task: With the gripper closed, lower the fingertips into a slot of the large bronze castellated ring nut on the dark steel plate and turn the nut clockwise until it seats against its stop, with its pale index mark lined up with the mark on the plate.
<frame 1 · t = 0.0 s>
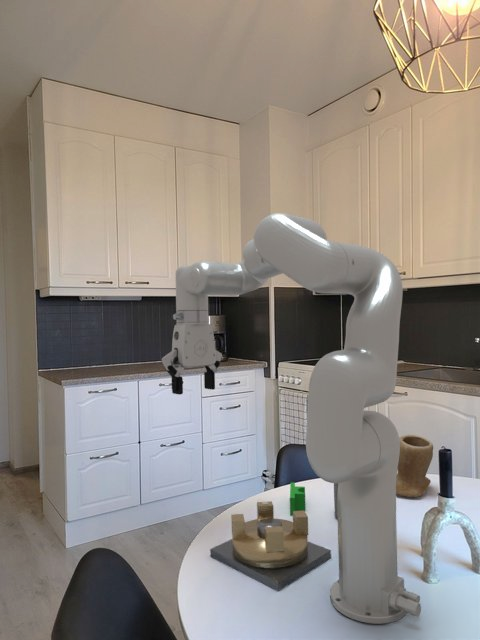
hand: (194, 391, 112), 31 cm above the table, tool pointing down, fingers open, 9 cm apart
mounting plate: (270, 557, 95), on the table
pipe clamp: (297, 508, 120), on the table
ring nut: (269, 531, 95), point 5 cm above the table, hinge at 50.0°
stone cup: (412, 491, 130), on the table
pillar candle: (354, 518, 113), on the table
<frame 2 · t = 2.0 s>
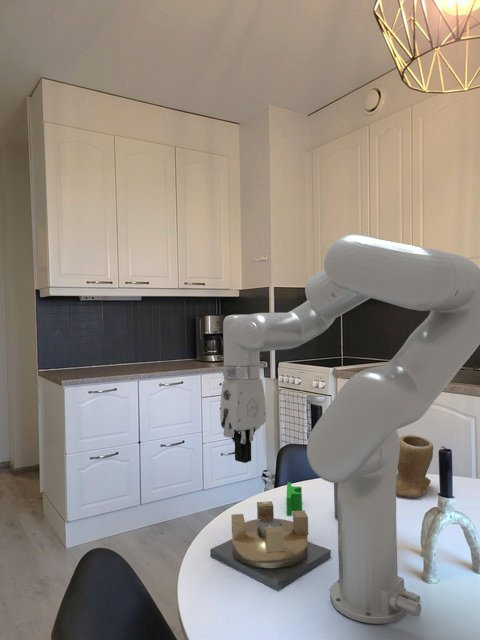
hand: (243, 460, 99), 18 cm above the table, tool pointing down, fingers closed
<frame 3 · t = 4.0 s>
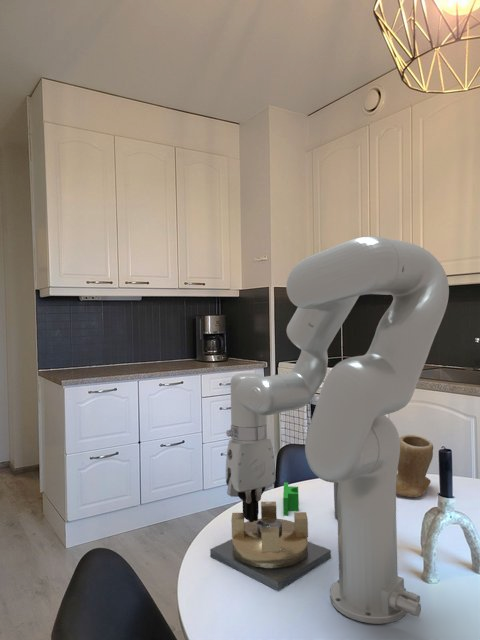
hand: (250, 519, 100), 6 cm above the table, tool pointing down, fingers closed
ring nut: (269, 531, 95), point 5 cm above the table, hinge at 43.1°, touching gripper
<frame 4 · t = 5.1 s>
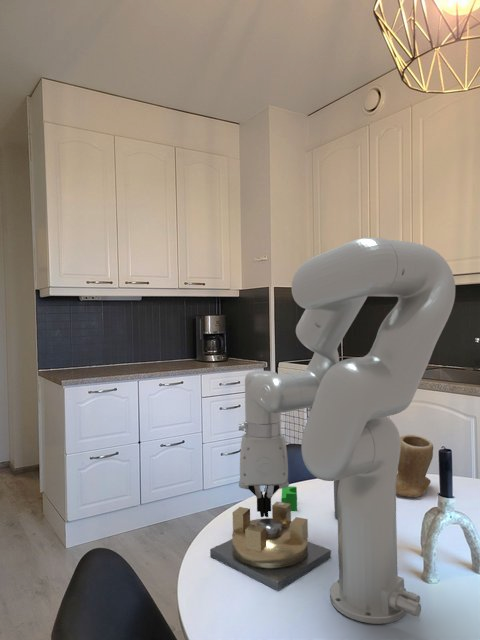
hand: (264, 514, 102), 6 cm above the table, tool pointing down, fingers closed
ring nut: (269, 531, 95), point 5 cm above the table, hinge at 17.8°, touching gripper
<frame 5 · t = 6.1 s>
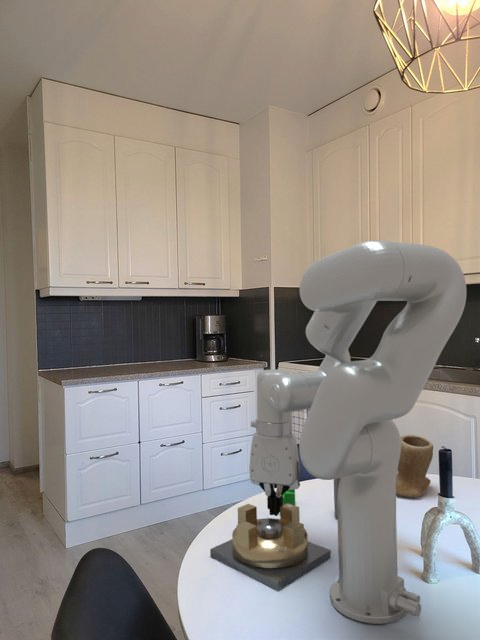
hand: (275, 512, 102), 6 cm above the table, tool pointing down, fingers closed
ring nut: (269, 531, 95), point 5 cm above the table, hinge at -0.7°, touching gripper
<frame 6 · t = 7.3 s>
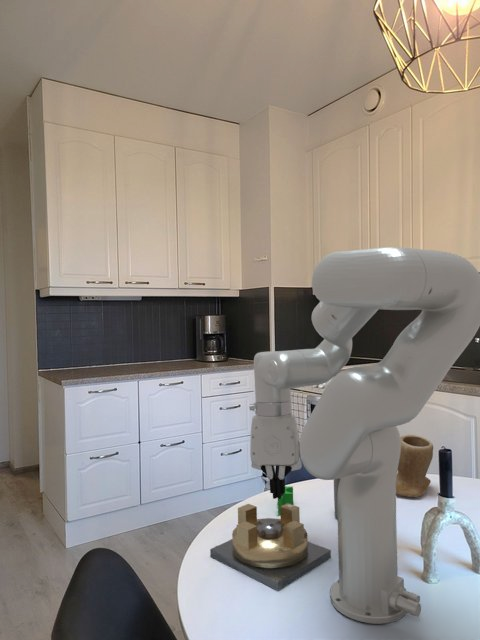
hand: (278, 496, 100), 10 cm above the table, tool pointing down, fingers closed
ring nut: (269, 531, 95), point 5 cm above the table, hinge at -1.0°
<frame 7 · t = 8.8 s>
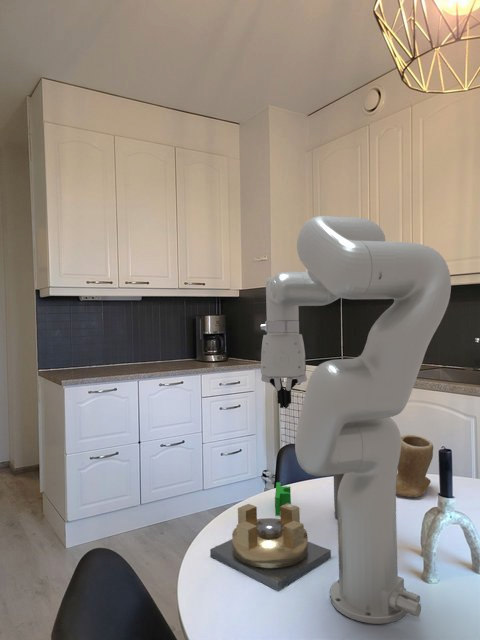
hand: (284, 406, 111), 27 cm above the table, tool pointing down, fingers closed
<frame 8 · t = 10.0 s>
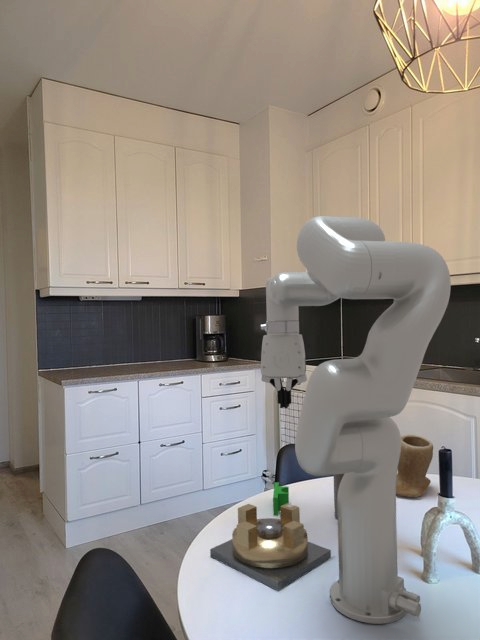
hand: (284, 406, 111), 27 cm above the table, tool pointing down, fingers closed
at the end: ring nut at -1° (first picture: +50°) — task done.
